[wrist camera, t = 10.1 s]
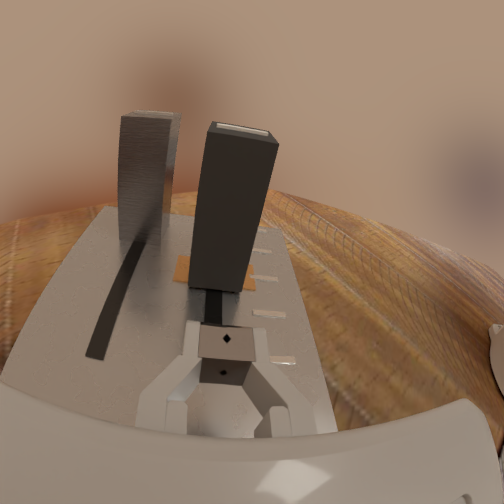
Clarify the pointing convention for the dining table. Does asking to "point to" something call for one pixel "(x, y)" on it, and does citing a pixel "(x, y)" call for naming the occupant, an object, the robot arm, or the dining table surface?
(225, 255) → the fader knob
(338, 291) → the dining table surface
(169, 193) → the console
